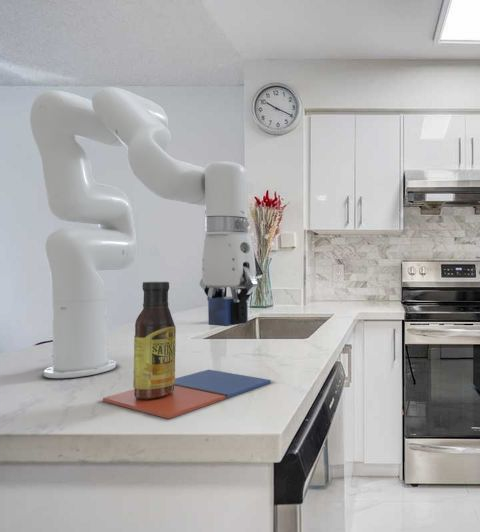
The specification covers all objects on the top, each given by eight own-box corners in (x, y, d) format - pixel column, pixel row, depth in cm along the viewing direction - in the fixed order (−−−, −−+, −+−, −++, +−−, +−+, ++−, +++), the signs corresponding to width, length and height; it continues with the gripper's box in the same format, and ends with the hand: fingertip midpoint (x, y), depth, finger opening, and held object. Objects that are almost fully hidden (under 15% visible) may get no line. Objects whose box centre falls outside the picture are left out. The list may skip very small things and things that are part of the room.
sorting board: (102, 401, 71) (102, 397, 71) (208, 372, 90) (208, 368, 90) (168, 419, 63) (168, 414, 63) (270, 382, 82) (270, 379, 82)
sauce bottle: (156, 402, 69) (154, 282, 69) (124, 400, 70) (123, 282, 70) (184, 390, 75) (183, 280, 75) (154, 388, 76) (153, 280, 76)
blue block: (208, 324, 79) (207, 298, 79) (230, 321, 83) (229, 296, 83) (226, 326, 76) (226, 299, 76) (247, 322, 81) (247, 297, 81)
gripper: (274, 227, 79) (275, 322, 79) (213, 231, 87) (214, 318, 87) (243, 224, 72) (244, 328, 73) (180, 228, 80) (181, 322, 80)
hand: (228, 321), depth 80 cm, fingers closed on blue block, 5 cm apart
